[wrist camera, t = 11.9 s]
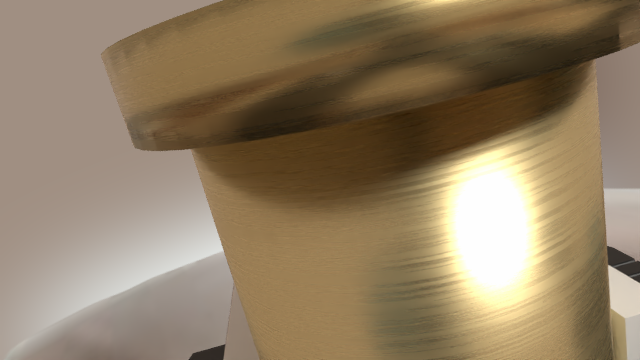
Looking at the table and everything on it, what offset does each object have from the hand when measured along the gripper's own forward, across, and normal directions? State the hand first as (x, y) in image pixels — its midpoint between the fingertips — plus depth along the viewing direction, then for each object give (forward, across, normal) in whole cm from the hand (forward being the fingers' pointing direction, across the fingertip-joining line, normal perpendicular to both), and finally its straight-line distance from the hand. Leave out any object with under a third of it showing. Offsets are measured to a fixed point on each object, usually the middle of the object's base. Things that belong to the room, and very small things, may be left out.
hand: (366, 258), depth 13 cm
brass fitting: (-5, 0, -8) cm, 9 cm away
